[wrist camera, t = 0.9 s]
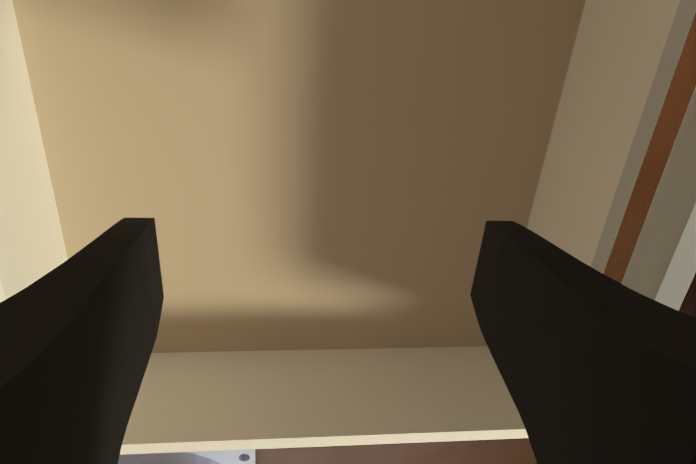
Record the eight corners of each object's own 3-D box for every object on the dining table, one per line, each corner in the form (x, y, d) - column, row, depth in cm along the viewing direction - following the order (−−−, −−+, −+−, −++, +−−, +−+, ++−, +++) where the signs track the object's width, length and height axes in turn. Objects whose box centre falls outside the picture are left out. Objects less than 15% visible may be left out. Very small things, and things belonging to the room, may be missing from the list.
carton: (500, 346, 26) (545, 437, 21) (80, 355, 23) (36, 458, 19) (648, -210, 16) (787, -250, 11) (-62, -287, 13) (-223, -373, 9)
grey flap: (561, 441, 21) (575, 446, 21) (544, 562, 17) (561, 569, 17) (821, -249, 11) (851, -250, 11) (925, -346, 7) (976, -349, 7)
